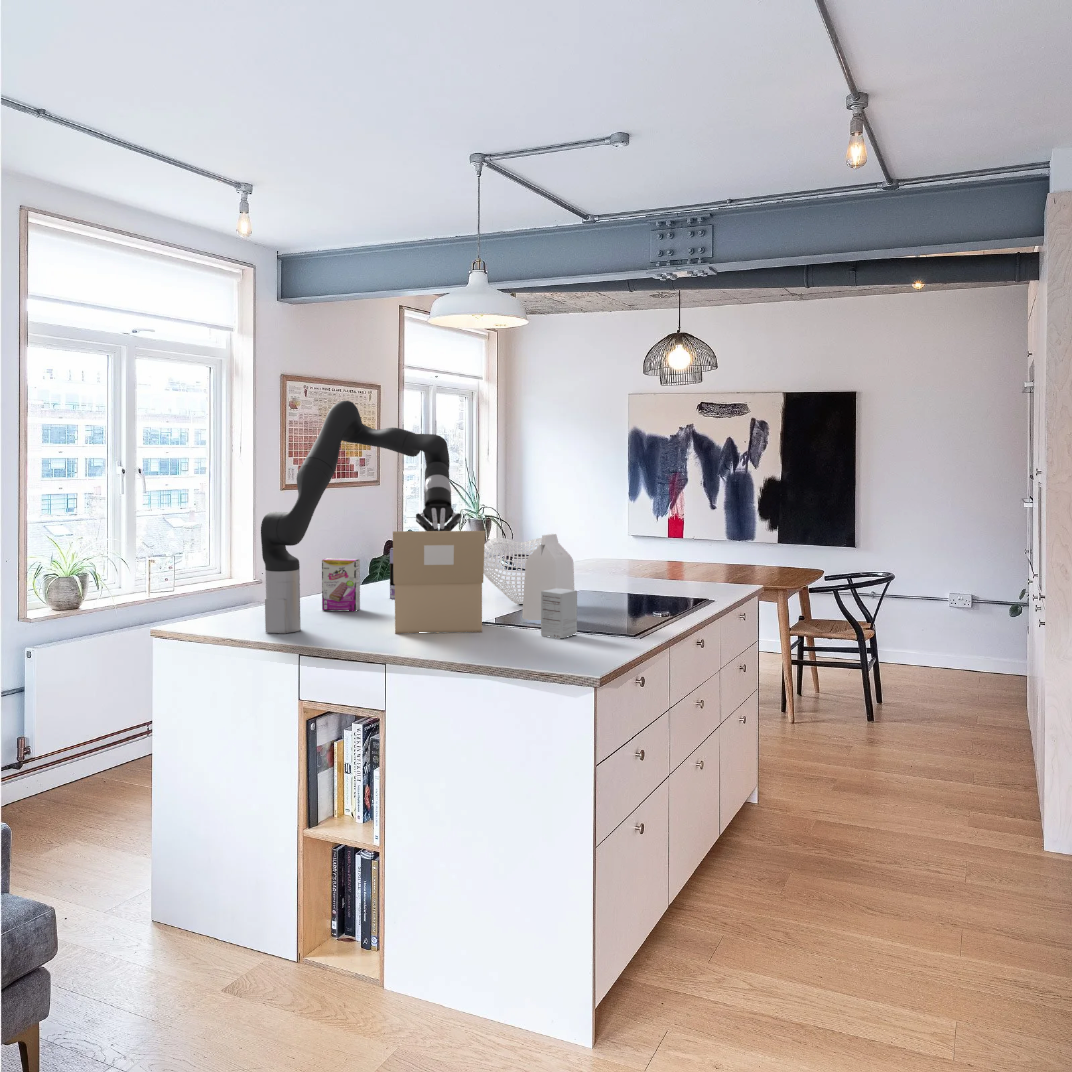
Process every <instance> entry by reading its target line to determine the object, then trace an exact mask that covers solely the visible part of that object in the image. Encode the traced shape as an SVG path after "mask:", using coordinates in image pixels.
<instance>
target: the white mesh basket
mask: <svg viewBox="0 0 1072 1072" xmlns="http://www.w3.org/2000/svg"><path fill="white" fill-rule="evenodd" d="M541 541H542V537H540V538H538V537H537V538H534V539H530V540H528V541H523V542H522V541H516V540H513V539H509V538H505V537H494V538H492V539H489V540H488V541H486V542H485V545H484V575H483V576H485V577H486V579H487V580H488V581H490V583H491V584H493V585H494V586H495V587H496V588H497V589H498V590H499V591H500V592H501V593H503V594H504V596H506V597H507V598H508V599H509V600H510V601H511V602H513V603H514V604H516V605H518V604H523V596H524V587H523V586H524V583H523V582H524V579H523V578H525V575H523V574H525V570H523V569H525V566H523V564H524V565H525V564H526V560H527V558H528V557H529V556H530V555H531V553H533V552H534V551H535V550H536V549H537V548H538V547H539V546H540V545H541ZM507 547H508V548H507ZM531 549H532V550H531ZM519 550H520V551H519ZM527 550H528V551H527ZM503 551H504V552H503ZM487 553H488V554H487ZM511 553H512V554H511ZM515 554H516V555H515ZM519 554H520V556H519ZM523 554H524V556H523ZM527 554H528V555H527ZM494 555H495V557H494ZM503 556H504V558H503ZM507 556H508V559H507ZM511 557H512V559H511ZM494 559H495V560H494ZM515 559H516V560H515ZM519 559H520V561H519ZM523 559H524V561H523ZM498 560H499V562H498ZM502 560H503V561H504V562H503V563H502ZM506 561H507V564H506ZM510 562H511V563H512V564H511V565H510ZM514 563H516V566H515V565H514ZM518 564H520V566H518ZM497 565H498V566H497ZM501 566H502V568H501ZM505 567H506V569H505ZM509 568H511V570H509ZM513 568H515V570H513ZM518 569H520V571H519V570H518ZM500 571H501V573H500ZM504 572H505V574H504ZM508 573H510V575H509V574H508ZM513 573H515V575H513ZM518 574H520V575H518ZM502 577H504V578H502ZM507 577H508V578H509V579H507ZM512 578H514V579H512ZM518 578H520V579H518ZM507 582H509V583H507ZM513 582H514V583H513ZM518 582H520V583H518ZM513 586H514V587H513ZM518 586H520V587H518ZM519 590H520V591H519Z"/></svg>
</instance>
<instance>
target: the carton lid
mask: <svg viewBox="0 0 1072 1072" xmlns="http://www.w3.org/2000/svg"><path fill="white" fill-rule="evenodd" d="M485 538H486V531H485V530H451V531H426V530H421V531H420V530H419V531H416V530H415V531H413V530H411V531H410V530H409V531H407V530H406V531H397V530H396V531H392V548H393V575H394V584H442V583H482V584H484V576H485V575H484V562H485V561H484V560H485V559H484V553H485V551H484V549H485V548H484V545H485V543H486V542H485V541H486V539H485Z"/></svg>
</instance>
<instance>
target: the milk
mask: <svg viewBox="0 0 1072 1072" xmlns="http://www.w3.org/2000/svg"><path fill="white" fill-rule="evenodd" d="M541 536H542V537H541V538H542V541H541V543H540V546H539V547H538V548H537V547H536V548H535V549H536V550H535V551H534V552H531V553H530V556H529V555H528V556H529V557H528V558H526V564H525V563H524V567H525V568H524V571H525V573H524V576H525V577H524V579H523V580H524V581H523V582H524V583H523V584H524V585H523V588H524V589H523V591H524V593H523V595H524V596H523V597H522V598H523V599H522V600H523V605H522V615H521V619H522V618H523V619H528V620H541V591H545V590H550V589H555V588H560V589H569V590H575V571H574V569H575V568H574V567H575V566H574V565H575V564H574V559H573V557H572V556H571V554H570V553H569V552H568V551H567V550H566V549H565V548H564V547H563V546H562V545H561V543H559V539H558V535H557V534H556V533H548V534H543V535H541Z"/></svg>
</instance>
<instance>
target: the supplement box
mask: <svg viewBox="0 0 1072 1072" xmlns="http://www.w3.org/2000/svg"><path fill="white" fill-rule="evenodd" d="M576 632H577V633H578V590H575V589H574V590H569V589H560V588H555V589H550V590H545V591H541V625H540V635H541V637H544V636H550V637H556V638H564V637H567V636H571V635H573V634H575V633H576ZM550 637H549V638H550ZM556 638H555V639H556ZM564 639H565V638H564Z"/></svg>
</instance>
